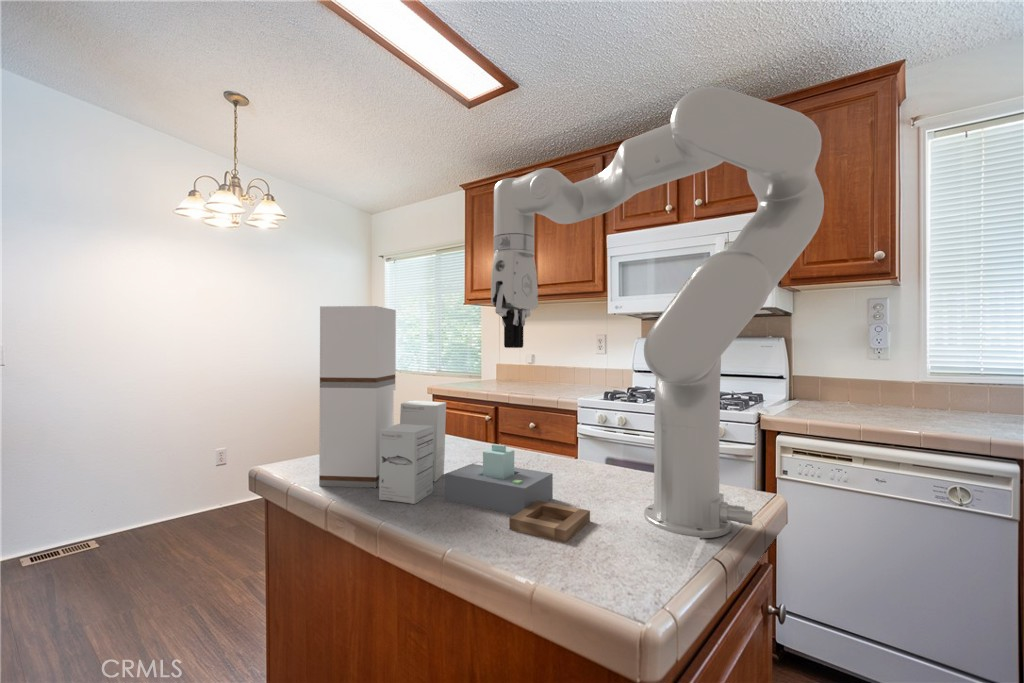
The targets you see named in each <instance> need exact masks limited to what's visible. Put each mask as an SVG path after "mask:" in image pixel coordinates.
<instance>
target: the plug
mask: <svg viewBox="0 0 1024 683" xmlns="http://www.w3.org/2000/svg"><path fill="white" fill-rule="evenodd" d="M482 462H483V476H486V477H491V478H497V479H502V480H504V479H507V478H509V477H511V476H513V475H514V467H515V449H509V448H507V445H505V444H499V443H498V444H497V443H494V444H492V445H491V448H490V449H487V450H485V451H482Z"/></svg>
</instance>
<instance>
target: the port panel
mask: <svg viewBox="0 0 1024 683" xmlns="http://www.w3.org/2000/svg"><path fill="white" fill-rule="evenodd" d="M553 474H554V473H551V472H546V471H539V470H532V469H528V468H521V467H515V466H514V475H513V476H511V477H509V478H507V479H504V480H502V479H497V478H491V477H486V476H483V461H476V462H473V463H470V464H468V465H465V466H462V467H459V468H457V469H454V470H451V471H449V472H446V473H444V503H447V502H448V501H450V502H456V503H461V504H465V505H470V506H475V507H477V508H478V507H479V508H483V509H488V510H493V511H496V512H501V513H506V514H511V515H513V516H514V515H515V514H517V513H518V512H520V511H522V510H523V509H525V508H527V507H528V506H530V505H531V504H533V503H535V502H536V501H543V502H548V503H549V502H550V501H551V500H553V499H554V498H553V491H554V490H553V486H554V485H553V484H554V483H553V479H554V478H553Z"/></svg>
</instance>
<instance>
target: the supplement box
mask: <svg viewBox="0 0 1024 683" xmlns="http://www.w3.org/2000/svg"><path fill="white" fill-rule="evenodd" d="M433 436H434V426H425V425H411V424H400V423H397V424H393V426H390V427H387V428H384V429H381V430H380V467H379V486H378V488H379V489H378V490H379V491H378V500H379V501H388V502H389V501H390V502H391V501H392V502H398V503H406V504H411V505H416V504H418V503H419V502H420V501H422V500H423V499H425V498H426V497H428V496H430V494H433V490H434V488H433V484H434V482H433Z"/></svg>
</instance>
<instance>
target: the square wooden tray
mask: <svg viewBox="0 0 1024 683" xmlns="http://www.w3.org/2000/svg"><path fill="white" fill-rule="evenodd" d="M590 522H591V510H589V509H583V508H579V507H578V508H577V507H572V506H567V505H563V504H558V503H554V502H549V501H548V502H543V501H536V502H535V503H533V504H531V505H530V506H528V507H527V508H525V509H523V510H522V511H520V512H518V513H517V514H515V515H514V514H513V515H512V516H510V517H509V523H508V524H509V526H508V527H509V530H511V531H515V532H519V533H524V534H528V535H532V536H535V537H536V536H537V537H540V538H544V539H549V540H552V541H553V540H554V541H557V542H561V543H565V544H566V543H567V542H569V541H570V540H571V539H572V538H573V537H574V536H575V535H576V534H578V533H579V532H580V531H581V530H582V529H583V528H585V526H587V525H588V524H589V523H590Z"/></svg>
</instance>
